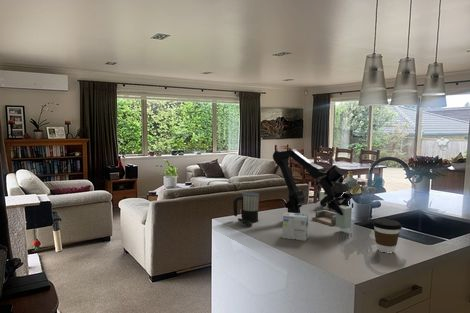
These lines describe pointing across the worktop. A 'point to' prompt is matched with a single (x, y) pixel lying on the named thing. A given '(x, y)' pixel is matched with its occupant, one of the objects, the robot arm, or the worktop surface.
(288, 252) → the worktop surface
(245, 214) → the milk frother
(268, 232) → the worktop surface
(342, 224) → the block
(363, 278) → the worktop surface
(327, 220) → the brown shallow tray
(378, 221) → the coffee cup
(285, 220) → the light bulb box
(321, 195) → the pneumatic valve
